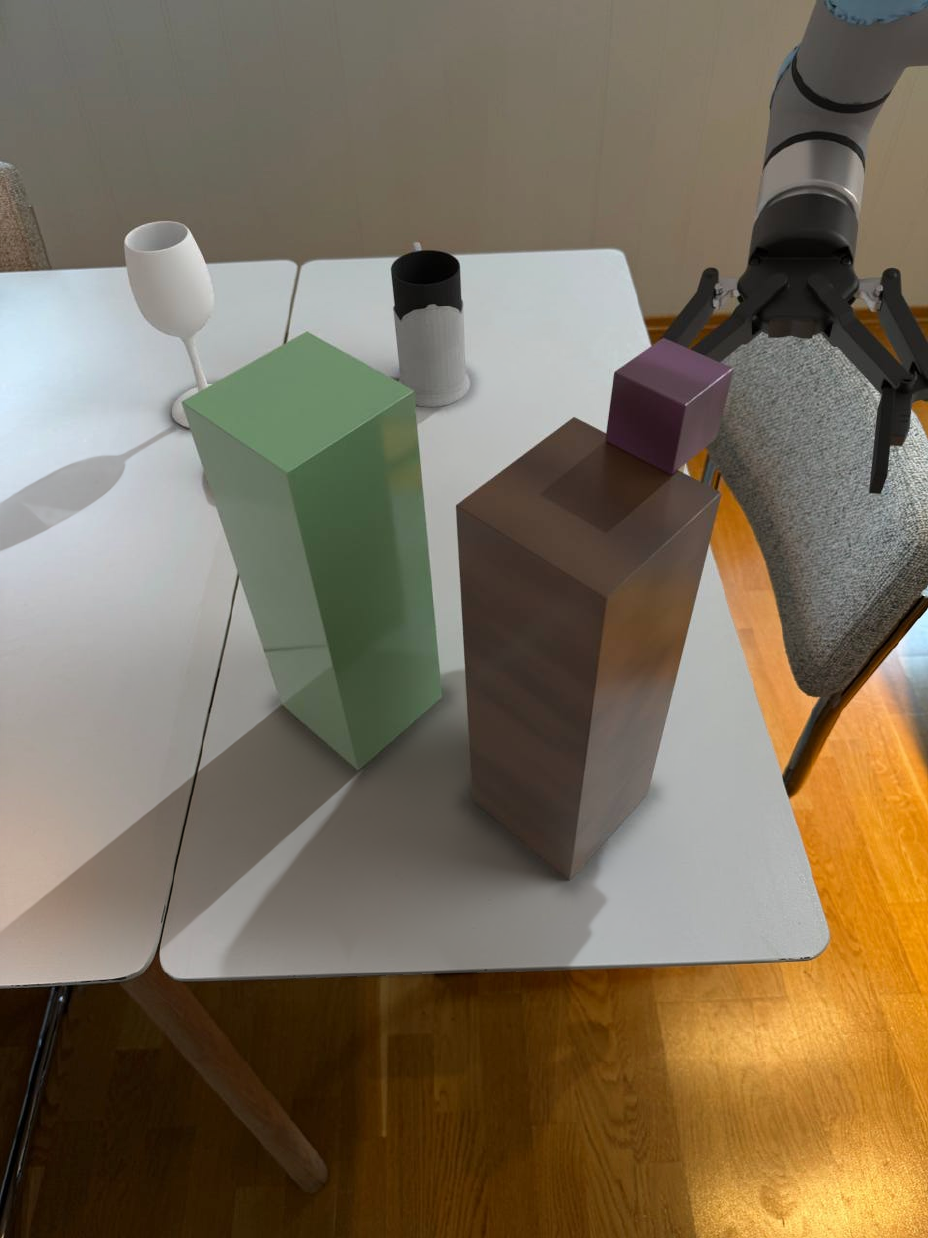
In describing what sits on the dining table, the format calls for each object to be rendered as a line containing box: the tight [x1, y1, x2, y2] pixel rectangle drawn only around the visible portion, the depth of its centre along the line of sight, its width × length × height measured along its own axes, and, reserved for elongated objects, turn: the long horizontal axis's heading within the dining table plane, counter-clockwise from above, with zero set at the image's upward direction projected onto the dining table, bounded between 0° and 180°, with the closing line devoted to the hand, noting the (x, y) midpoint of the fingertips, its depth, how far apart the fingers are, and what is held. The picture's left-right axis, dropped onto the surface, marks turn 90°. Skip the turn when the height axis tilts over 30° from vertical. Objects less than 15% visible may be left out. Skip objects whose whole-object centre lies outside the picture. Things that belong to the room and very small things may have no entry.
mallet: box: [605, 338, 734, 475], centre depth 53 cm, size 16×4×4 cm
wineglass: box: [123, 220, 215, 429], centre depth 99 cm, size 9×9×21 cm
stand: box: [455, 416, 723, 881], centre depth 60 cm, size 10×10×32 cm
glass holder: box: [390, 241, 471, 408], centre depth 104 cm, size 9×14×15 cm, turn 10°
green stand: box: [181, 331, 443, 771], centre depth 66 cm, size 10×10×32 cm
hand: (771, 477), depth 62 cm, fingers open, 13 cm apart
